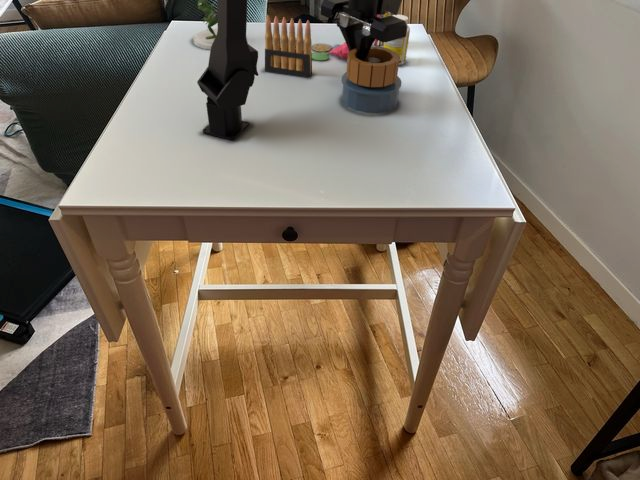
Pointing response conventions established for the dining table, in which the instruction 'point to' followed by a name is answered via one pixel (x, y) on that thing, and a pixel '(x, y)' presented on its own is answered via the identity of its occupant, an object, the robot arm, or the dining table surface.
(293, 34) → the ammunition clip
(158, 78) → the dining table surface
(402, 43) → the supplement bottle
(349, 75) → the brown grooved ring
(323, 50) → the toy pieces
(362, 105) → the pot
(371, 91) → the pot lid
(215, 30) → the monster figurine
